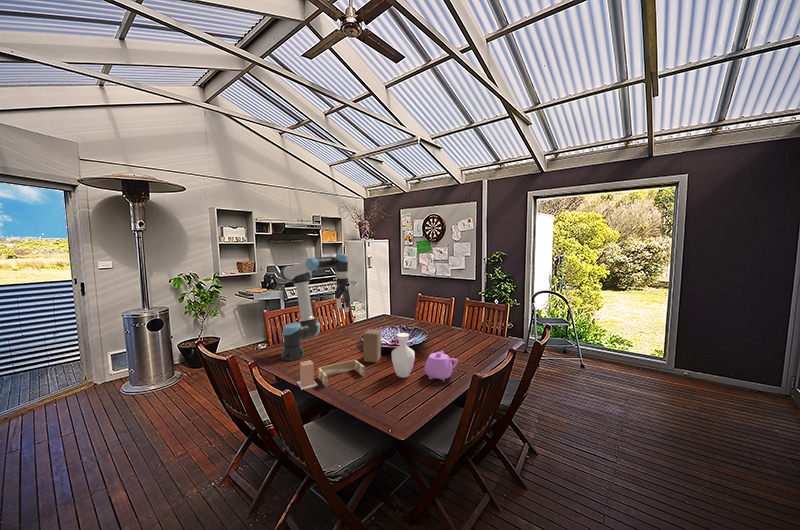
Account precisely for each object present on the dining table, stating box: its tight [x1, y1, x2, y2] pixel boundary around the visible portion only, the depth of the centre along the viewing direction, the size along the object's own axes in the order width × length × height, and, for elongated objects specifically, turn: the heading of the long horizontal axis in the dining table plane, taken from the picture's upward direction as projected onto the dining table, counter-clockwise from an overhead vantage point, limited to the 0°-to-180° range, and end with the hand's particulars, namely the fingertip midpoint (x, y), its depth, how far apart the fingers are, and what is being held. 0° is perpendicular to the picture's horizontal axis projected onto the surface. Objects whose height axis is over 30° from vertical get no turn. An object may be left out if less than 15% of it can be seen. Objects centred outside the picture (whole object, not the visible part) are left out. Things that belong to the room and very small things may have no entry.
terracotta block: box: [299, 359, 315, 387], centre depth 171 cm, size 6×6×12 cm
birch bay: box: [317, 358, 366, 388], centre depth 180 cm, size 14×24×6 cm, turn 123°
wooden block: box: [362, 328, 382, 363], centre depth 206 cm, size 10×10×20 cm
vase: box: [391, 332, 416, 378], centre depth 183 cm, size 14×14×25 cm
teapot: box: [424, 350, 458, 381], centre depth 182 cm, size 20×20×15 cm
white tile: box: [296, 380, 319, 391], centre depth 171 cm, size 10×9×1 cm
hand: (342, 310), depth 196 cm, fingers open, 13 cm apart
